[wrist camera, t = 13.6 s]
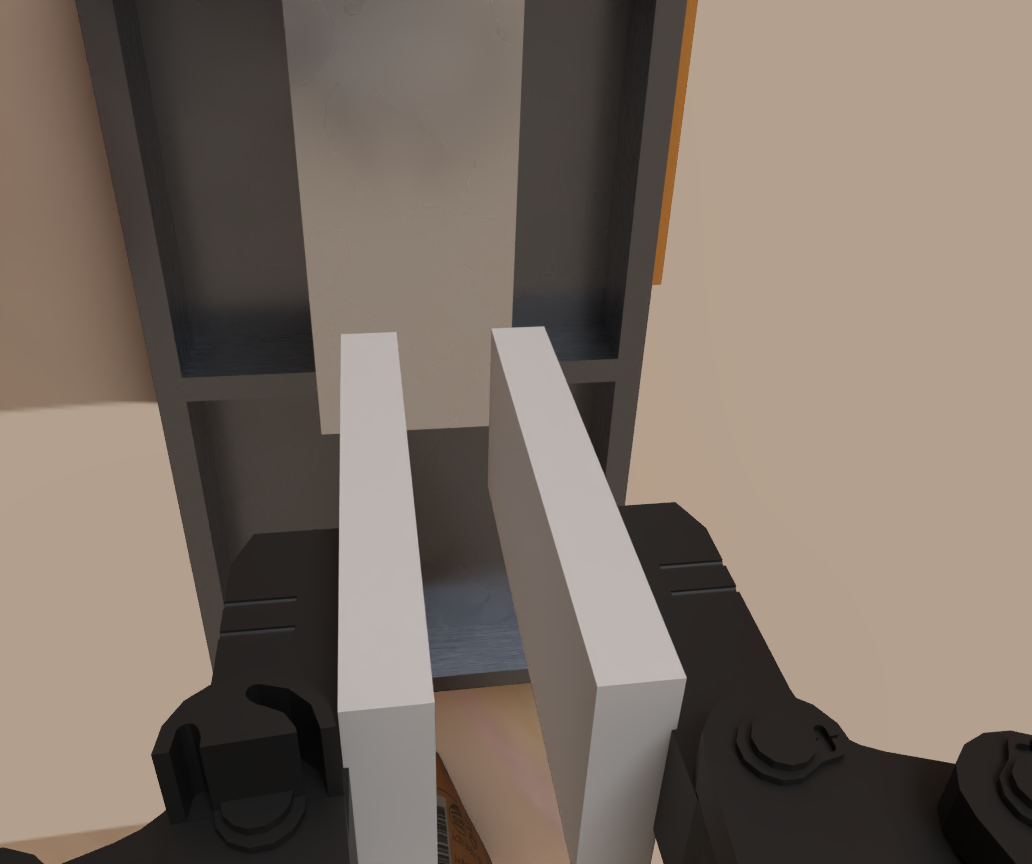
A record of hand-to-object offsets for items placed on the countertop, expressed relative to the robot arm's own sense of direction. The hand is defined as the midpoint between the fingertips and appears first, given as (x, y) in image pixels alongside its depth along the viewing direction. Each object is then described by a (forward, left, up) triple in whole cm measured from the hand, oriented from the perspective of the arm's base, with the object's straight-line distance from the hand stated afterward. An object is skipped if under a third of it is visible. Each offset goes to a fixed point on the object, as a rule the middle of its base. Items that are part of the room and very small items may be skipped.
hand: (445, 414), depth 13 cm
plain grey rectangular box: (0, 0, -15) cm, 15 cm away
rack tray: (0, -7, -16) cm, 18 cm away
